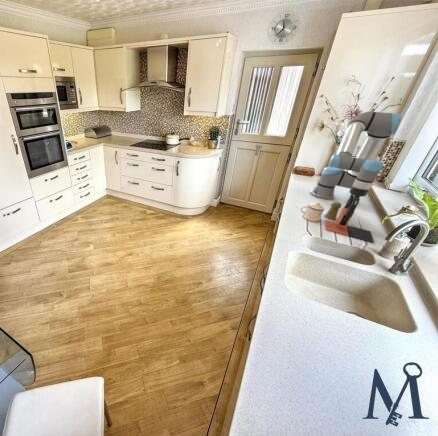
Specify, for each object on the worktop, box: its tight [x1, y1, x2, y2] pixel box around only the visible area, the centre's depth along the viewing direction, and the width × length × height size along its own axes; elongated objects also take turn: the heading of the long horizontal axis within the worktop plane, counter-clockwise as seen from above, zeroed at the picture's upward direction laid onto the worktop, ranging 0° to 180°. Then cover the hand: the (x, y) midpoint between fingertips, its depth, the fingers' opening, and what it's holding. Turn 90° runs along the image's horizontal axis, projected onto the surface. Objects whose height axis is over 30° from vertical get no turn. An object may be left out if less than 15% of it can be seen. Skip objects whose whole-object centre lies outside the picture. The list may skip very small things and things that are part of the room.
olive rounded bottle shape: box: [324, 201, 342, 221], centre depth 154 cm, size 6×6×11 cm
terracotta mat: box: [325, 219, 350, 237], centre depth 145 cm, size 14×11×1 cm
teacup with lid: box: [300, 201, 325, 223], centre depth 152 cm, size 12×9×12 cm
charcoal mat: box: [347, 225, 374, 244], centre depth 139 cm, size 14×11×1 cm
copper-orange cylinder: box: [335, 207, 355, 226], centre depth 140 cm, size 6×6×9 cm
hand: (341, 222), depth 142 cm, fingers closed on copper-orange cylinder, 6 cm apart
